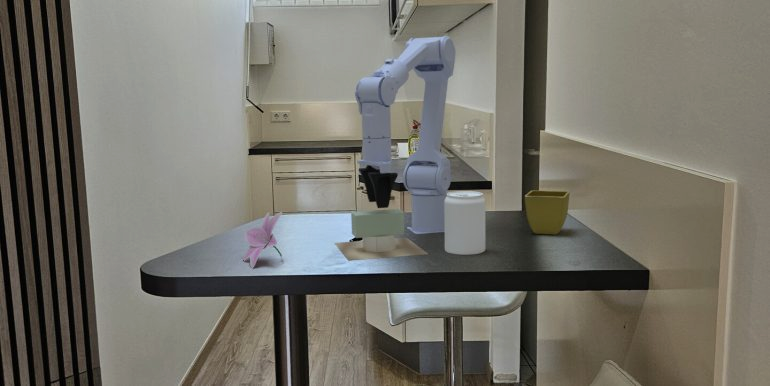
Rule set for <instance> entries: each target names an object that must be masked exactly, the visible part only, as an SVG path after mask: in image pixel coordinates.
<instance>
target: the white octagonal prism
mask: <svg viewBox="0 0 770 386" xmlns="http://www.w3.org/2000/svg"><path fill="white" fill-rule="evenodd" d="M396 238H397V235H390V236H376V237H363V238H362V241H363V249H364V250H365V251H370V252H386V251H391V250H394V249H396Z"/></svg>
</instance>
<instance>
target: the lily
mask: <svg viewBox="0 0 770 386" xmlns="http://www.w3.org/2000/svg"><path fill="white" fill-rule="evenodd" d="M282 215H283V212H282V211H280V212H277V213H276V214H275V215H273V216H272V217H270V212H267V213H266V215H265V216H264V217H263V221H262V222H261V225H260V226H254V227H251V228H249V229H247V230H246V231H245V232H244V238H245V240H246V243H247V244H248V245H249V247H248V249H247V250H246V252H245V254H244V255H243V258H242V261H243V260H244V261H245V260H247V259H249V264H250V268H251V267H255V266H256V264H257V261H258V259H259V257H260V255H261V253H262V251H263V250H265V249H269V248H271V247H273V248H274V249H275V250H276V252H277V253H278V254H279V256H280V257H282V256H283V255H282V253H281V251H279V249H278V248H277V246H276V245H278V243H277V240H276V237H275V235H274V234H273V230H274V228H275V226H276V224H277V223H278V221H279V219H280V218H281V216H282Z"/></svg>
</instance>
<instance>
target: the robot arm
mask: <svg viewBox="0 0 770 386" xmlns="http://www.w3.org/2000/svg"><path fill="white" fill-rule="evenodd" d="M455 63H456V46H455V44H454V41H453V39H452V38H451V37H450V36H449V35H444V36H434V37H417V38H416V37H411V38H409V40H408V41H406V42H405V48H404V51H402V53H401V54H400V55H399V57H398V58H397V59H396V58H395V59H394V58H386V60H385V61H384V64H383V65H382V66H381V67H380V68H378V69H376V70H375V71H374V73H373V74H371V76H370V77H369V76H367V77H366V76H364V77H363V78H361V79H360V80H359V81H358V82H357V84H356V88H355V90H354V97H355V101H356V102H357V105H358V112H359V115H361V130H362V131H361V133H362V134H361V135H362V159H357V160H356V162H357V164H358V165H365V167H362V168H361V167H360V168H358V172H359V173H360V175H361V177H362V180H363V183H364V186H365V191H366V196H367V199H368V200H367V201H368V203H375V204H376V207H377V208H378V209H386V208H389V206H390V201H391V197H392V196H391V195H392V191H393V187H394V184H395V182H396V180H397V178H398V174H399V173H397V172H392V164H393V158H392V138H391V137H392V133H391V131H392V128H391V127H392V125H391V124H392V123H391V106H392V105H393V104H395V100H396V97H397V94H398V91H399V90H400V89H401V87H402V86H404V84H406V82H407V81H408V79H409V76H410V74H409V73H410V72H411V71H412V70H413V71H414V72H415V74H416V76H417V77H419V78H421V79H423V80H424V82H425V83H424V92H423V100H422V101H423V103H422V111H421V120H420V126H419V128H420V129H419V136H418V145H417V146H418V147H417V150H415V151H414V152H413V153H411V154H410V155H409V156H407V158H406V165H405V168H404V170H403V172H402V183H403V186H404V188H405V189H406V190H407V191H408V194H409V195H410V194H411V195H410V197H411V200H410V201H411V202H410V203H411V206H410V207H411V226H407V227H406V228H407V229H408V230H409V231H411V232H412V233H414V234H415V235H419V234H421V235H422V234H431V233H432V234H434V233H445V217H444V201H445V198H446V197H447V193H448V192H447V191H448V190H449V188H450V185H451V182H452V181H451V180H452V174H451V161H450V160H449V159H448V157H446V156H445V155H444V154H443V153H442V152H441V147H442V146H441V144H442V137H443V128H444V119H445V110H446V101H447V100H446V99H447V91H448V82H449V78H451V77H452V76H453V75H454V69H455Z"/></svg>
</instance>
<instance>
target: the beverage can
mask: <svg viewBox="0 0 770 386" xmlns="http://www.w3.org/2000/svg"><path fill="white" fill-rule="evenodd" d="M446 193H447V197H446V198H445V201H444V217H445V232H444V251H445V252H446V253H449V254H452V255H463V256H464V255H465V256H467V255H468V256H469V255H470V256H471V255H478V254H481V253H484V252H485V251H486V199H485V197H484V196H483V195H484V193H483V192H479V191H471V190H460V191H459V190H458V191H450V192H446Z"/></svg>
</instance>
